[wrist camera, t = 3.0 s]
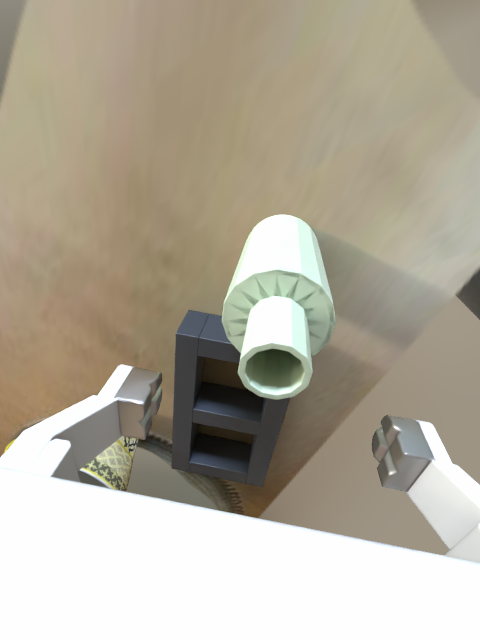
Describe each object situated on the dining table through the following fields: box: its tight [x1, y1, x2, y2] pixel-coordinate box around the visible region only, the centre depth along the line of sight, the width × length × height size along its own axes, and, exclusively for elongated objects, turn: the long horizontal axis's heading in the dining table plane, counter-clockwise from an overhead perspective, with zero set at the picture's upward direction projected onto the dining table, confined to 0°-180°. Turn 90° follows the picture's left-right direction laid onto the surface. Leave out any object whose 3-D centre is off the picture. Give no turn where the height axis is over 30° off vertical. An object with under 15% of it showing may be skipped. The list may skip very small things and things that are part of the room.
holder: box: [172, 310, 290, 487], centre depth 33 cm, size 11×20×4 cm, turn 172°
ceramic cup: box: [4, 436, 139, 492], centre depth 35 cm, size 13×10×10 cm
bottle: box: [222, 215, 336, 400], centre depth 19 cm, size 6×6×15 cm
